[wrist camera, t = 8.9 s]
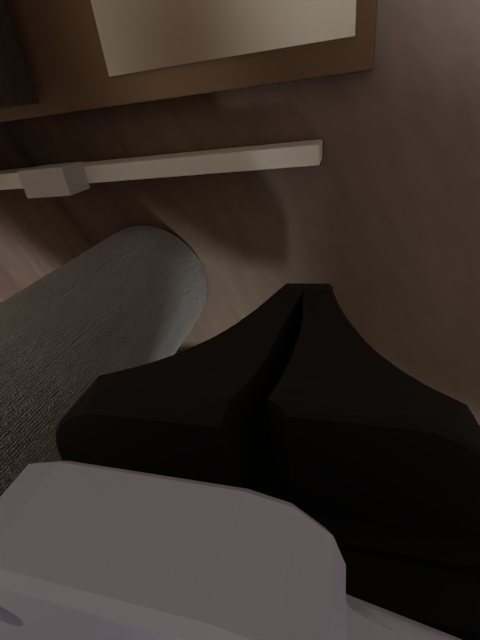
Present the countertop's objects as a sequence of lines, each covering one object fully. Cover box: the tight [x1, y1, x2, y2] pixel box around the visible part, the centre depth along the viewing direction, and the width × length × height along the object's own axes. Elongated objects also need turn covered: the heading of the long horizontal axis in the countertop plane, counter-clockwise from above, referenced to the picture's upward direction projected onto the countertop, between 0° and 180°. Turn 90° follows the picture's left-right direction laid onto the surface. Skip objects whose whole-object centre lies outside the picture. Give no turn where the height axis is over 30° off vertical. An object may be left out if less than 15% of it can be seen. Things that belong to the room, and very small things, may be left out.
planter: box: [0, 225, 208, 497], centre depth 10 cm, size 4×4×10 cm
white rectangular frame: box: [0, 139, 322, 198], centre depth 14 cm, size 17×10×3 cm, turn 97°
